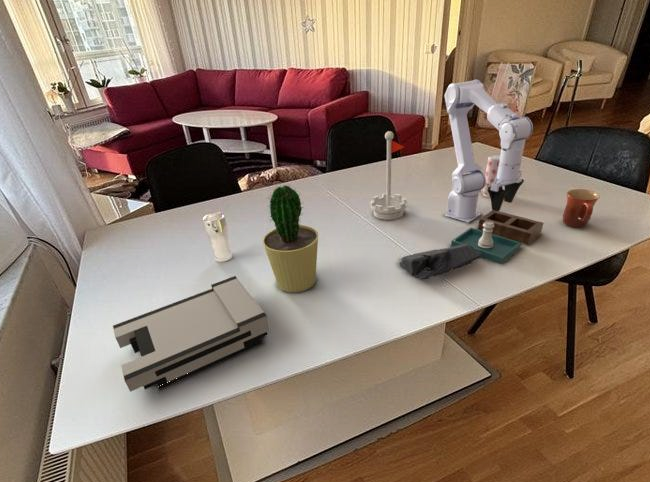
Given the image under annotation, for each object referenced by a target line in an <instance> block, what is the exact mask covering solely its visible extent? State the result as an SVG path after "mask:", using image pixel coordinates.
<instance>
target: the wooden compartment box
mask: <svg viewBox="0 0 650 482" xmlns="http://www.w3.org/2000/svg"><path fill="white" fill-rule="evenodd" d="M486 221H488V222H489V221H491V222H493V223H494V227H493V228H492V229H493V231H492V234H494V235H497V236H501V237H504V238H507V239H511V240H514V241H517V242H521V244H523V245H527V246H529V245H530V244H531V243H532V242H534V240H536V239H537V238H538V237H539V236H540V235H542V230H543V227H544V222H542V221H538V220H534V219H532V218H531V219H530V218H527V217H523V216H519V215H515V214H512V213H507V212H504V211H500V210H499V211H495V210H492V209H491V210H490V211H489V212H487V213H486V214H484V215H483V216H482V217H480V218H479V219H478V225H477V229H478V230H481V231H483V229H484V226H483V224H484V223H485V222H486Z"/></svg>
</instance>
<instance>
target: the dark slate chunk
mask: <svg viewBox="0 0 650 482" xmlns="http://www.w3.org/2000/svg"><path fill="white" fill-rule="evenodd" d="M482 256H483V254H482V252H480V251H478V250H477V249H474V247H472V246H470V245H457V246H453V247H452V246H450V247H446V248H440V249H431V250H428V251H427V250H426V251H422V252H418V253H417V252H416V253H413V254H409V255H405V256H403V257H402V258H401V260H400V262H399V266H400V267H401V268H402V269H404V270H405V272H406V273H408V274H409V275H411V276H414V277H417V279H418V278H420V279H422V280H427V279H430V277H437V276H440V275H442V274H446V273H449V272H451V271H452V270H455V269H456V270H457V269H460V268H461V267H464V266H468V265H469V264H472V263H473V262H474V261H477V260H478V259H481V258H483V257H482ZM427 269H429V270H427Z"/></svg>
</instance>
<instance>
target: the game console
mask: <svg viewBox="0 0 650 482" xmlns="http://www.w3.org/2000/svg"><path fill="white" fill-rule="evenodd" d="M112 329H113V333H114V338H115V340H116V342H117V345H118V346H119V348H120V349H122V348H124V347H127V346H129V345H131V348H132V350H133V353H134V354H138V353H139V354H140V357H138V358H134V359H132V360H130V361H128V362H125V363H123V364H121V365H120V366H121V371H122V376H123V380H124V383H125V384H126V386H127V388H128V391H129V392H133V391H136V390H138V389H140V388H143V389H144V390H147V389H150V388H152V387H154V386H157V388H158V389H157V390H158V391H161V390H163V389H165V388H167V387H169V386H171V385H173V384H176V383H177V382H180V381H182V380H184V379H187V378H189V377H191V376H193V375H196V374H197V373H200V372H202V371H204V370H207V369H209V368H211V367H214V366H217V365H218V364H220V363H223V362H224V361H227V360H229V359H231V358H233V357H236V356H237V355H238V356H239V355H240V354H242V353H244V352H246V351H249V350H252V349H254V348H255V347H257V346H260V345H262V344H263V341H262V339H263V338H265V337H267V336H269V333H268V332H269V331H271V330H270V325H269V320H268V316H267V314H266V313H265V312H264V310H263V309H262V308H261V306H260V305H259V304H258V303H257V301H256V300H255V299H254V298H253V296H252V295H251V294H250V292H249V291H248V289H246V288H245V286H244V284H243V283H242V282H241V281H240V279H238V277H237V276H236V275H234V276H231V277H228V278H226V279H223V280H220V281H218V282H215V283H212V284H211V288H209V289H207V290H205V291H202V292H199V293H196V294H194V295H191V296H188V297H185V298H183V299H180V300H178V301H175V302H172V303H170V304H167V305H164V306H162V307H159V308H156V309H154V310H151V311H148V312H146V313H142V314H140V315H137V316H135V317H132V318H129V319H127V320H124V321H121V322H118V323H116V324H114V325H112ZM187 373H188V374H187ZM176 378H177V379H176ZM169 381H170V382H169ZM167 382H168V383H167ZM162 384H163V385H162ZM160 385H161V386H160ZM158 386H159V387H158Z"/></svg>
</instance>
